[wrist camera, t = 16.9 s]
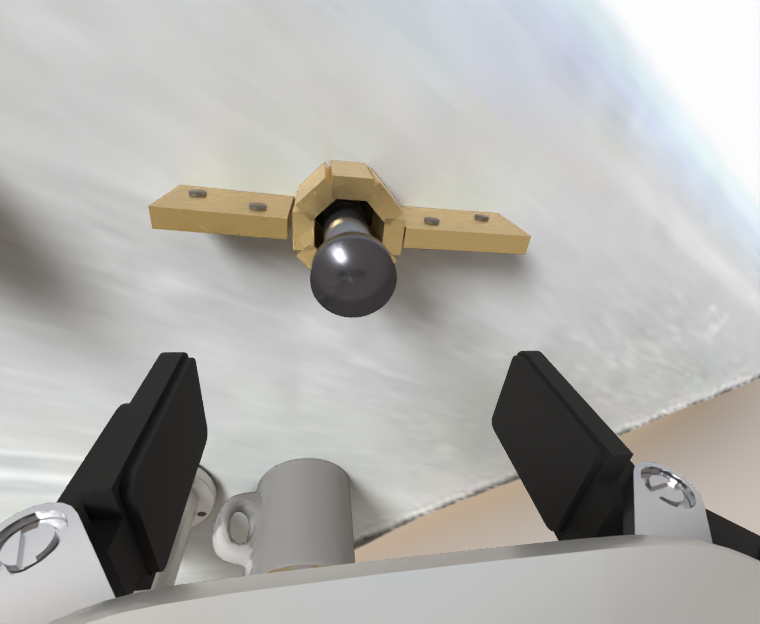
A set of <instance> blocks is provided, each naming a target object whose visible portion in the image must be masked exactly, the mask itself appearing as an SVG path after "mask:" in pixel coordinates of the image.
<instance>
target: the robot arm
mask: <svg viewBox="0 0 760 624" xmlns="http://www.w3.org/2000/svg"><path fill="white" fill-rule="evenodd" d="M492 426H493V429H494V431H495V433H496V435H497V437H498V438H499V440H500V442H501V444H502V446H503V447H504V449H505V451H506V453H507V455H508V457H509V458H510V460H511V462H512V464H513V466H514V468H515V469H516V471H517V473H518V475H519V477H520V479H521V480H522V482H523V484H524V486H525V488H526V490H527V491H528V493H529V495H530V497H531V499H532V500H533V502H534V504H535V506H536V508H537V510H538V512H539V513H540V515H541V517H542V519H543V521H544V522H545V524H546V526H547V527H548V528H549V529H550V530H551V531H554V533H555V535H556V537H557V538H558V540H559V541H554V542H544V543H535V544H526V545H515V546H506V547H496V548H486V549H477V550H468V551H459V552H450V553H441V554H431V555H423V556H413V557H404V558H395V559H386V560H378V561H368V562H360V563H351V564H342V565H334V566H325V567H316V568H308V569H299V570H290V571H282V572H273V573H264V574H256V575H248V576H241V577H233V578H226V579H218V580H211V581H203V582H196V583H188V584H181V585H175V586H174V583H175V580H176V577H177V573H178V570H179V567H180V563H181V560H182V557H183V553H184V550H185V547H186V543H187V540H188V537H189V533H190V530H191V528H192V527H194V526H196V525H198V524H199V523H201V522H203V521H204V520H205V519H206V518H207V517H208V516H209V515H210V513H211V512H212V510H213V507H214V504H215V500H216V494H217V492H216V487H215V484H214V483H213V481H212V479H211V478H210V477H209V476H208V474H207V473H206V472H205V471H203V470H202V469H201V468H199V467H198V466H199V463H200V460H201V457H202V454H203V451H204V448H205V445H206V441H207V424H206V418H205V412H204V407H203V401H202V395H201V389H200V383H199V378H198V372H197V366H196V361H195V359H194V358H188V355H187V353H185V352H165V353H161V354H160V355H159V357H158V359H157V360H156V362H155V363H154V365H153V367H152V368H151V370H150V371H149V373H148V375H147V376H146V378H145V380H144V381H143V383H142V384H141V386H140V388H139V389H138V391H137V393H136V394H135V396H134V397H133V399H132V401H131V402H130V403H128V404H122V405H121V406H119V408H118V409H117V410H116V411H115V413H114V414H113V416H112V418H111V419H110V421H109V422H108V424H107V425H106V427H105V428H104V430H103V431H102V433H101V435H100V436H99V438H98V439H97V441H96V442H95V444H94V445H93V447H92V448H91V450H90V451H89V453H88V455H87V456H86V458H85V459H84V461H83V462H82V464H81V465H80V467H79V468H78V470H77V472H76V473H75V475H74V476H73V478H72V479H71V481H70V482H69V484H68V485H67V487H66V489H65V490H64V492H63V493H62V495H61V496H60V498H59V499H58V501H57V502H56V503H45V504H41V505H36V506H33V507H31V508H28V509H26V510H23V511H21V512H19V513H17V514H15V515H13V516H12V517H10V518H8V519H7V520H5V521H4V522H2V523H1V524H0V624H760V536H759V535H757V534H755V533H753V532H751V531H749V530H747V529H745V528H743V527H741V526H739V525H737V524H735V523H733V522H731V521H729V520H727V519H725V518H723V517H721V516H719V515H717V514H715V513H713V512H711V511H709V510H707V509H705V506H704V502H703V500H702V497H701V495H700V493H699V492H698V491H697V490H696V488H695V487H694V486H693V485H692V484H691V483H690V482H689V481H688V480H687V479H686V478H684V477H683V476H681V475H680V474H679V473H677V472H676V471H674V470H672V469H670V468H668V467H666V466H664V465H661V464H658V463H655V462H648V461H645V462H639V463H638V464H637V465H635V466H634V464H633V463H632V462H631V461H630V459H631V457H632V456H633V453H632V452H631V451H630V450H629V449H628V448H627V447H626V446H625V444H624V443H623V442H622V441H621V440H620V439H619V438H618V437H617V436H616V435H615V433H614V432H613V431H612V430H611V429H610V428H609V427H608V426H607V425H606V423H605V422H604V421H603V420H602V419H601V418H600V417H599V416H598V415H597V414H596V412H595V411H594V410H593V409H592V408H591V407H590V406H589V405H588V404H587V402H586V401H585V400H584V399H583V398H582V397H581V396H580V395H579V394H578V393H577V391H576V390H575V389H574V388H573V387H572V386H571V385H570V384H569V383H568V381H567V380H566V379H565V378H564V377H563V376H562V375H561V374H560V373H559V372H558V370H557V369H556V368H555V367H554V366H553V365H552V364H551V363H550V362H549V361H548V359H547V358H546V357H545V356H544V355H543V354H542V353H541V352H540V351H520V352H519V353H518V354H517V356H514V357H513V359H512V361H511V364H510V367H509V370H508V373H507V376H506V379H505V382H504V385H503V387H502V390H501V393H500V396H499V399H498V402H497V405H496V408H495V411H494V414H493V417H492Z"/></svg>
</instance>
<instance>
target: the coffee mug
mask: <svg viewBox="0 0 760 624" xmlns="http://www.w3.org/2000/svg"><path fill="white" fill-rule="evenodd" d="M235 512H242V513H244V514H245V515H246V516H247V518H248V522H249V533H248V539H247V541H246V543H243V544H238V543H236V542H234V540H233V539H232V538H231V535H230V521H231V517H232V516H233V514H234V513H235ZM212 542H213V547H214V550H215V552H216V554H217V555H218V556H219V557H220V558H221V559H223V560H225V561H227V562H230V563H234V564H238V565H242V566H243V567H244V576H248V575H256V574H264V573H273V572H282V571H290V570H299V569H308V568H316V567H325V566H334V565H342V564H351V563H355V556H354V541H353V527H352V512H351V497H350V483H349V478H348V476H347V474H346V473H345V472H344V470H343V469H341V468H340V467H339V466H337V465H335V464H333V463H331V462H328V461H325V460H320V459H295V460H291V461H287V462H284V463H281V464H279V465H277V466H275V467H273V468H272V469H270V470H269V471H268V472H267V473H266V474H265V475H264V476H263V477H262V478H261V480H260V482H259V485H258V490H257V491H255V492H249V493H242V494H238V495H235V496H233V497H231V498H230V499H228V500H227V501H226V502H225V503H224V505H223V506H222V507H221V509H220V511H219V513H218V515H217V518H216V520H215V523H214V528H213V541H212Z"/></svg>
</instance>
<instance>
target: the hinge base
mask: <svg viewBox="0 0 760 624" xmlns="http://www.w3.org/2000/svg"><path fill="white" fill-rule="evenodd" d="M336 199H348V200H361V201H367V202H368V203H369V205H370V206H371V207H372V208H373V209H374V210H373V220H372V225H371V226H369V227H368V229H369V233H370V235H371V236H373V237H375V238H377V239H378V240H379V241H380V242H382V243H383V244H384V246H385V247H386V248H387V250H388V251H389V253H390V255H391V258H392V260H393V263H395V262H396V261H397V259H396V257H395V255H401V249H402V246H403V248H421V249H439V250H457V251H476V252H494V253H512V254H525V253H526V250H527V247H528V244H529V241H530V238H531V236H530V235H529V234H527V233H526V232H524V231H523V230H521V229H520V228H519V227H517V226H516V225H514V224H513V223H511V222H510V221H509V220H507V219H506V218H504V217H503V216H501V215H500V214H499V213H487V212H474V211H460V210H447V209H433V208H420V207H406V206H399V205H398V203H397V202H396V200H395V199H394V197H393V196H392V194H391V193H390V191H389V190H388V189H387V187H386V186H385V185H384V184H383V182H382V181H381V180H380V179H379V177H378V176H377V175H376V173H375V172H374V171H373V170H372V168H371V167H369V168H368V169H367V167H366V165H365V163H356V162H346V161H335V160H331V164H330V168H329V167H328V166H327V164H326V163H325V162H324V163H323V164H322V165H321V166H320V167H319V168H318V169H317V170H316V171H315V172H313V173H312V174H311V175H310V176H309V177H308V178H307V179H306V180H305V181H304V182H303V183H302V184H301V185H300V187H299V191H297V195H296V199H295V203H294V207H293V211H292V225H293V250H297V251H296V257H297V258H298V259H299V260H300V261H301V262H303V263H304V264H305V265H306V266H307V267H308V268H309V269H310V270H311V264H312V260H313V257H314V254H315V253H316V251H317V249H318V248H319V247H320V246H321V245H322V244H323V243H324V229H323V228H322V227H321V226H320V225H319V224H318V223H317V222H316V221H315V217H316V216H318V215H319V214H320V213H321V212H322V211H323V210H324V209H325V208H327V207H328V206H329V205H330V204H331V203H332V202H333V201H334V200H336Z"/></svg>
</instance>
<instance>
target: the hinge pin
mask: <svg viewBox="0 0 760 624" xmlns="http://www.w3.org/2000/svg"><path fill="white" fill-rule="evenodd" d="M396 280H397V275H396V269H395V265H394V263H393V260H392V258H391V255H390V253H389V251H388V250H387V248H386V247H385V246H384V244H383V243H382V242H380V241H379V240H378V239H377V238H375V237H373V236H371V235H370V233H369V229H368V226H367V223H366V220H365V217H364V214H363V211H362V208H361V205H360V203H359V201H358V200H348V199H336V200H334V201H333V202H332V203H331V204H330V205H329V206H328V207H327V208H325V209H324V243H323V244H322V245H321V246H320V247H319V248H318V249H317V251H316V253H315V254H314V257H313V260H312V264H311V275H310V283H311V289H312V292H313V294H314V296H315V298H316V299H317V301H318V302H319V303H320V304H321V305H322V306H323V307H324V308H325V309H326V310H328V311H330V312H331V313H334V314H336V315H339V316H343V317H362V316H366V315H369V314H371V313H373V312H375V311H377V310H379V309H380V308H381V307H383V306H384V305H385V304H386V303H387V302H388V300H389V299H390V297H391V296H392V294H393V292H394V289H395V286H396Z"/></svg>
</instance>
